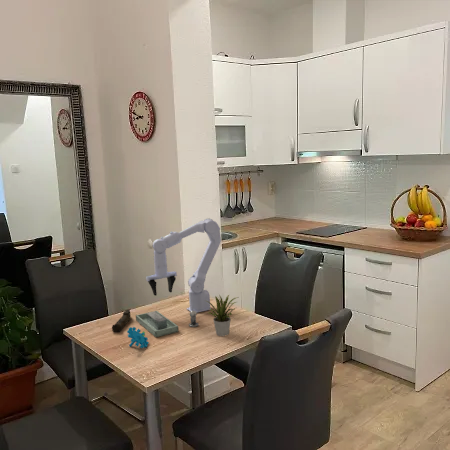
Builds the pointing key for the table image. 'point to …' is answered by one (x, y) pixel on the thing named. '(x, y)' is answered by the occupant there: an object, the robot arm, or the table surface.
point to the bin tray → (169, 330)
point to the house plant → (222, 316)
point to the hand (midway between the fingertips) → (162, 293)
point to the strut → (156, 320)
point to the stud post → (193, 319)
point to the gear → (137, 337)
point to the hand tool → (121, 322)
